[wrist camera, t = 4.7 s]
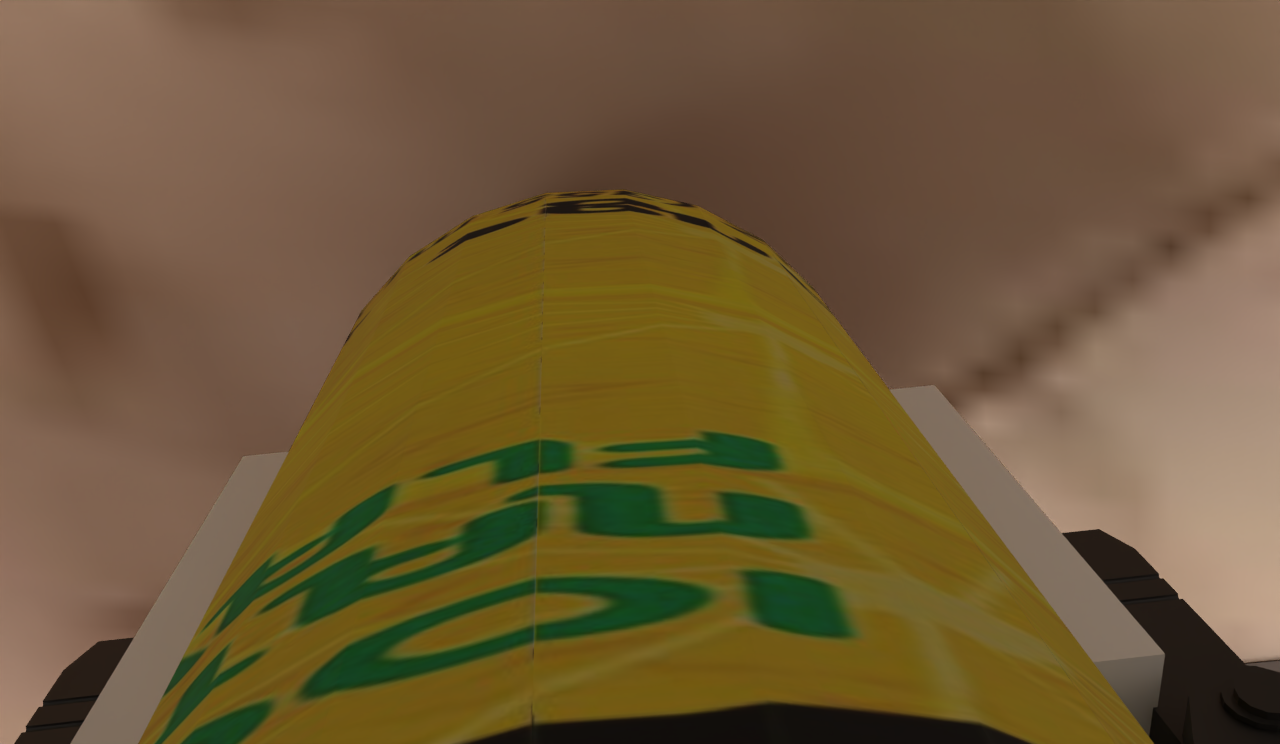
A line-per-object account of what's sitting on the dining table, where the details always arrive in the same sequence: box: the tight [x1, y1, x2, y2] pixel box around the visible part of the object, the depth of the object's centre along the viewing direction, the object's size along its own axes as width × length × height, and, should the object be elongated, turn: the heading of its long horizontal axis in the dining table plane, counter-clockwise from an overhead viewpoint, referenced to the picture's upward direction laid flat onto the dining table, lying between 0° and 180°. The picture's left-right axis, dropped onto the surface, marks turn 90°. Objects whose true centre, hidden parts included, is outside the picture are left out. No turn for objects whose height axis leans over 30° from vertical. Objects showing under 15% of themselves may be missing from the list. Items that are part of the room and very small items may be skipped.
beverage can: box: [138, 189, 1154, 744], centre depth 12 cm, size 9×9×12 cm
